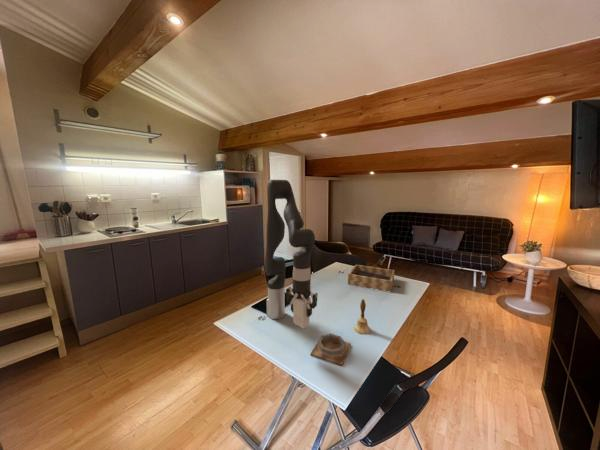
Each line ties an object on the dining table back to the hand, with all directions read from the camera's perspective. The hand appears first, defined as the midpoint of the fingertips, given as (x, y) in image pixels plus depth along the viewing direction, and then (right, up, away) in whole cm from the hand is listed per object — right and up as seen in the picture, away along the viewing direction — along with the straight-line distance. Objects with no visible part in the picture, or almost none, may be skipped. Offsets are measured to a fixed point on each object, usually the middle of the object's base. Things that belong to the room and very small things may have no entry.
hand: (301, 313), depth 100 cm
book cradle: (+54, -6, +78) cm, 95 cm away
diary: (+54, -6, +79) cm, 96 cm away
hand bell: (+31, -15, +19) cm, 40 cm away
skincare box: (0, -5, +1) cm, 5 cm away
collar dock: (+13, -17, +3) cm, 22 cm away
